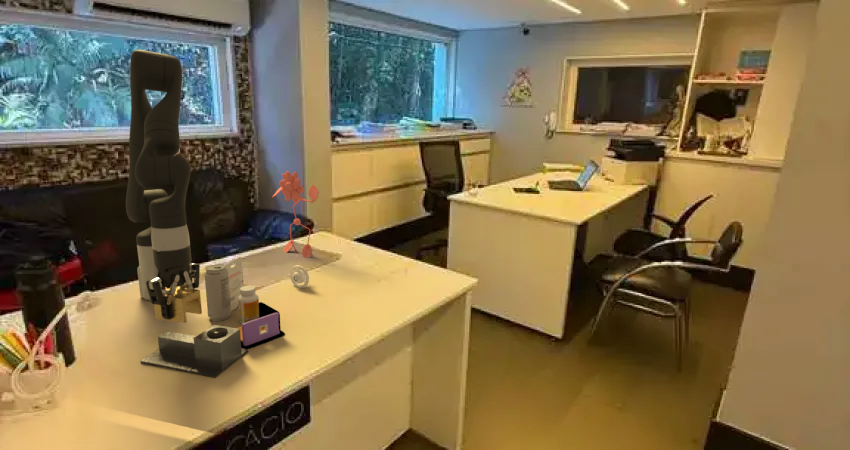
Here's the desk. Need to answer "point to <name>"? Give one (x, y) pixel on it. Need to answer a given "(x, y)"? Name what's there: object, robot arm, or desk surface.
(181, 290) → the brass open box
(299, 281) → the ring around a ball
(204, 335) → the grey knob base
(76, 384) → the desk surface
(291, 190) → the flower sculpture
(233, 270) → the ink cartridge box
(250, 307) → the supplement bottle
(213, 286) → the energy drink can
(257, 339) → the toy room diorama
